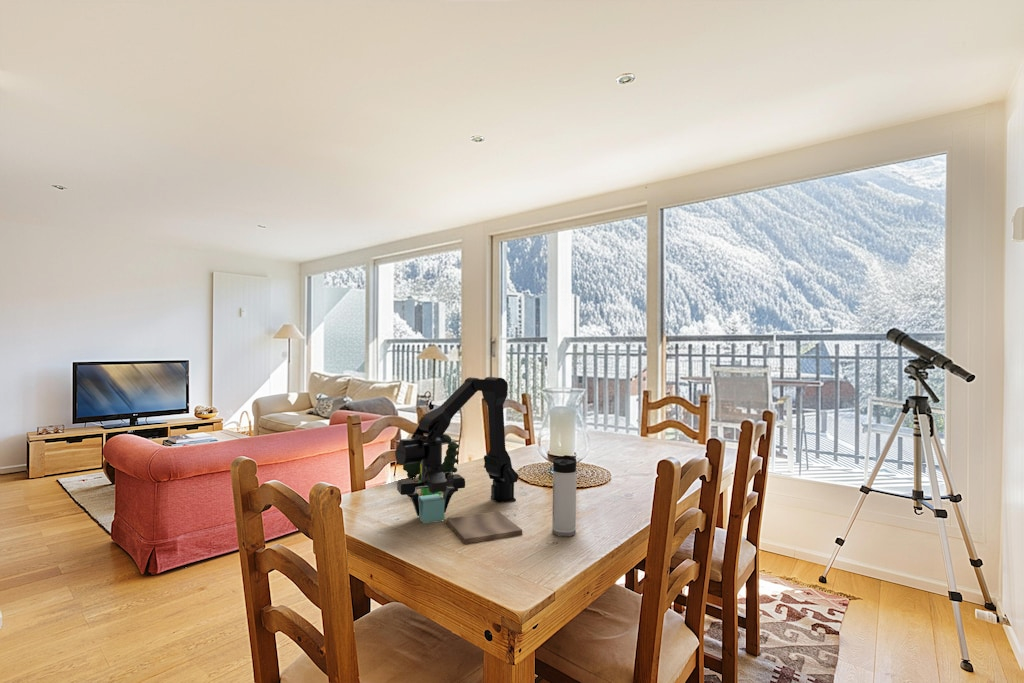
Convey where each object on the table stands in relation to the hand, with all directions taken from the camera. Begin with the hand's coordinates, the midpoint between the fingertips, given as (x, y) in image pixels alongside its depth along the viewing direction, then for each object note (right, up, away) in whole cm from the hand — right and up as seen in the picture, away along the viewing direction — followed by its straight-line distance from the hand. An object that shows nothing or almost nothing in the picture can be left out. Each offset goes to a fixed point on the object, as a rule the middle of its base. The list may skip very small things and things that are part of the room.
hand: (431, 514), depth 143 cm
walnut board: (+15, -1, -7) cm, 17 cm away
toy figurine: (-8, -2, +39) cm, 40 cm away
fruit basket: (-4, -2, +25) cm, 25 cm away
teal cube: (0, -1, 0) cm, 1 cm away
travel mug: (+37, -2, -9) cm, 38 cm away
